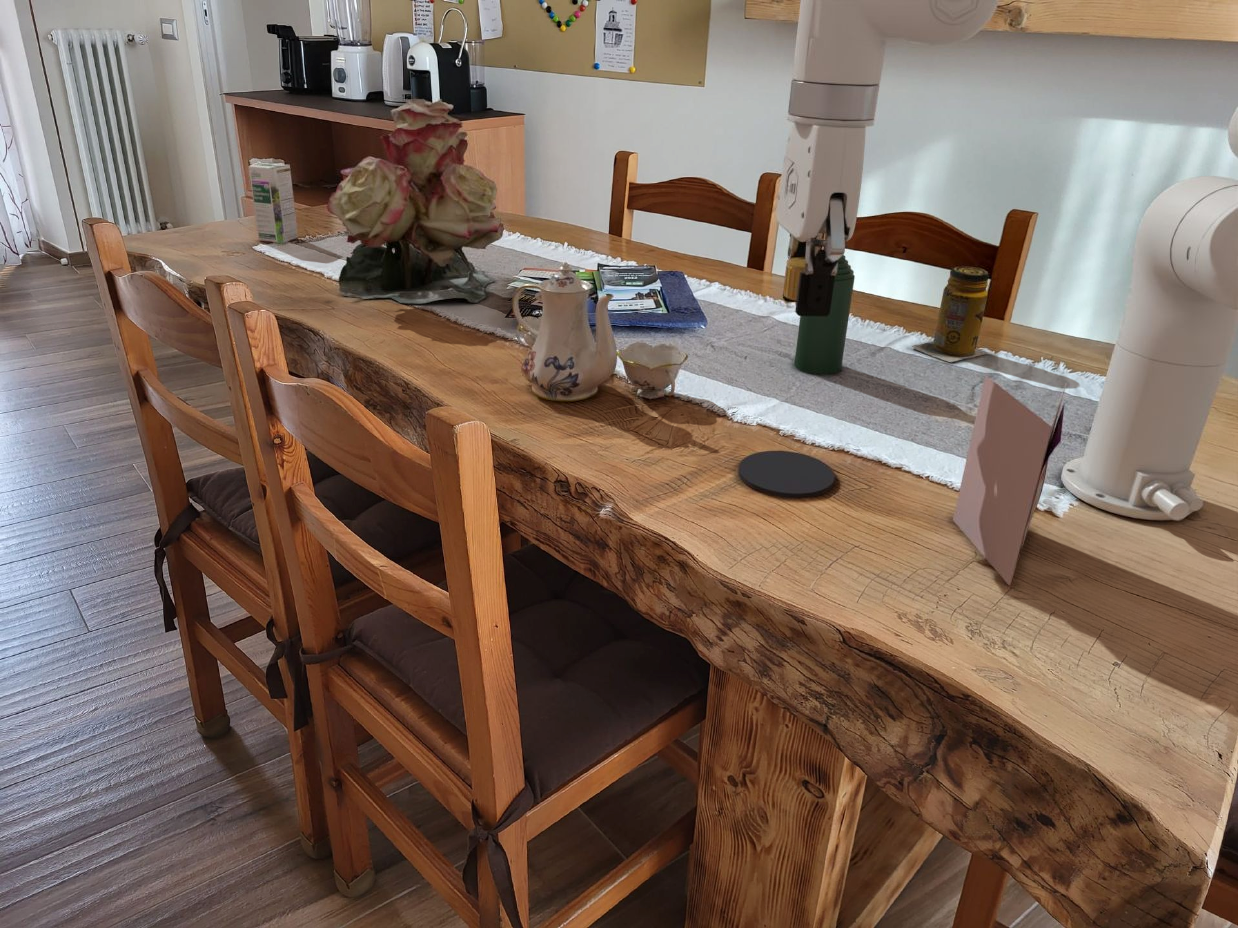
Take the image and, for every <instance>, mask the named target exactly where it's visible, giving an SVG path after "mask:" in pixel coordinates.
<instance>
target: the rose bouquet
mask: <svg viewBox="0 0 1238 928" xmlns="http://www.w3.org/2000/svg"><path fill="white" fill-rule="evenodd" d="M453 109H454V105H453V104H449V103H447V102H444V101H443V99H442V98H440V99H438V100H437V101H434V102H431V101H429V100H426V99H424V98H421V99H420V98H413V99H412V98H410V99H405V103H404V104H403V105H401V106H399V107H397V108H393V109H391V110H390V113H391V117H392V120H393V123H394V125H395V126H396V128H395V129H394V130H393V131H392V132H391V133H389V134H383V135H382V136H380V137H379V138H378V139H379V140H380V141H381V143H382V144H383V146H384V149H385V151H386V155H387V157H388V159H389V161H387V160H385V159H383V158H378V157H377V158H376V157H373V156H367V157H365V158H363V159H362V160H361V161H360V162H358V163H357V165H356V166H354V168H355V169H354V170H353V171H352V173H351V174H350V175H349V176H348V177H347V178H346V179H345V180H344V179H343V180H341V181H340V183H338V186H337V188H336V191H335V192H331V194H330V197H329V199H328V202H327V205H326V209H327V211H328V212H329V214H331V215H334V216H336V217H337V218H338V219H339V220H340V222H342V223H341V224H342V225H343V226H344V227H345V229H346V231H347V232H349V233H351V234H349V235H348V236H347V238H346V243H351V244H355V243H357V242H358V241H359V244H357V245H356V246H355V247H354V249H353V250H352V252H351V253H350V254H351V256H346V257H345V258H346V259H345V260H346V261H345V264H344V265H343V266H342V267H341V270H340V273H339V277H338V286H339V287H338V291H339V292H340V294H341V295H342V296H345V297H352V298H353V297H355V298H361V299H359V301H360V300H362V299H363V300H369V299H379V298H380V299H383V298H384V299H385V298H387V299H388V298H389V299H390V298H391V299H393V300H395V301H397V302H398V303H400V304H418V305H419V304H421V305H422V304H427V303H431V302H437V301H441V300H449V299H450V300H451V299H466V300H467V301H468V302H469V303H471V304H477V303H479V302H480V301H482V300H484V299H486V298H487V293H486V289H485V287H486V286H487V285H489V284H491V283H494V282H495V280H494V279H493V280H492V279H491V278H489V277H487V276H485V275H484V273H483V272H482V271H480V270H479V271H478V270H476V268H475V265H474V263H472V262H470V261H468V258H467V256H466V254H465V252H464V251H463V248H470V249H475V250H486V249H487V247H488V246H489V245H491V244H493V243H495V242H497V241H500V240H501V239H502V237H503V236H504V230H505V227H504V226H505V225H504V223H502V219H501V218H500V217H496V216H495V215H494V212H492V211H494V210H496V209H497V206H496V203H495V200H496V199H497V195H498V188H497V184H496V182H495V181H494V180H492V179H490V178H488V177H487V176H485V174H484V173H483V172H481V171H482V170H480V169H477V168H475V167H473V166H471V165H469V164H465V162H466V161H465V158H464V157H465V153H466V151H467V150H468V146H469V144H468V143H469V142H468V140H467V139H466V137H468V132H467V131H465V130H462V129H463V127H464V126H463V124H464V123H463V122H462V120H461V121H460V120H459V119H457V118H455V117H452V116H450V115H448V113H449V112H450V111H452V110H453ZM446 120H447V121H446ZM383 245H386V247H385V246H383ZM393 249H394V250H393Z"/></svg>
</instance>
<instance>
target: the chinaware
mask: <svg viewBox="0 0 1238 928" xmlns="http://www.w3.org/2000/svg"><path fill="white" fill-rule="evenodd" d="M558 270H559V271H558V272H555V273H553V274H552V275H551V278H550V279H545V280H544V279H543V280H542V281H540V282H538V284H537V283H531V282H529V283H525V284H523V285H520V286H518V288H516V290H515V292H514V294H513V296H512V299H511V308H512V313H513V316H514V318H515V320H516V322H517V323H518V325H517V326H516V329H515V337H516V339H517V341H518V343H519V344H521V345H522V346H524V347H526V346H527V347H528V348H529V349H530V351H529V352H528V353H527V355H526V357H525V358H524V360H523V362H522V364H521V367H520V371H521V374H522V376H523V377H524V378H525V379H526V380H527V381H528V382H529V383H530V384H531V385H532V386H531V392H532V393H533V394H534V395H535V396H537V397H538V398H540V399H543V400H547V401H553V402H559V403H560V402H562V403H568V402H569V403H570V402H571V403H572V402H579V401H585V400H588V399H590V398H592V397H594V396H595V395H596V394H597V393H598V391H599V387H598V386H599V385H601V384H602V383H603V382H604V381H606V380H607V379H609V378H610V377H611V376H612V375H613V374H614V373H615V370H616V368H617V362H618V358H619V359H620V361H621V363H622V366H623V369H624V373H625V376H626V377H627V379H628V381H629V382H630V383H631V384H632V386H634V387H635V388H637V394H636V395H637V397H642V398H644V399H649V400H652V399H657V398H663V397H665V396H667V397H671V396H672V395H674V393H675V390H676V379H677V377H678V375H679V373H680V370H681V367H682V366H683V363H685V362H686V361H688V359H689V354H687V353H686V352H681V351H680V350H679V349H678V347H677V346H676V345H673V344H671V343H660V344H657V345H654V346H653V345H651V344H649V343H646V342H634V343H631V344H629V345H628V346H627V347H626V348H625V349H619V350H618V349H617V348H618V347H617V343H616V339H615V335H614V332H613V329H612V325H611V320H610V317H609V316H610V315H609V311H608V307H609V303H610V301H612V299H613V298H614V297H615V295H614V294H613V293H604V294H603V295H602V296H600V297H599V298H598V301H597V303H596V305H595V332H596V336H595V337H596V341H595V339H594V336H593V332H592V329H591V325H590V321H589V314H588V313H589V312H588V301H589V296H590V291H591V289H592V288H593V287H592V286H593V284H592V283H590V282H589V281H587V280H584V279H580V277H579V276H578V275H577V273H575V272H572V270H573V269H572V267H570V264H569V263H568V262H567V261H564V262H563V263H562V264H561V266H560V267H559V268H558ZM527 289H537V290H540V291H539V292H536V293H535V294H534V298H535V299H536V300H537V301H542V311H541V315H540V316H538V317H535V316H531V315H529V316H523V317H522V314H521V312H520V307H519V299H520V295H521V294H522V292H523V291H525V290H527ZM519 331H520V332H522V333H523V340H522V339H521V338H520V335H519V333H520V332H519ZM668 387H670V392H669V393H668V392H667V391H666V390H665V389H667V388H668Z"/></svg>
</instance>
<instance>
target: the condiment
mask: <svg viewBox="0 0 1238 928" xmlns="http://www.w3.org/2000/svg"><path fill="white" fill-rule="evenodd" d="M989 278H990V273H989V272H988V271H987V270H986V269H983V268H979V267H973V266H962V265H961V266H955V267H952V268H951V269H950V271H949V277H948V280H947V284H946V286H945V287H944V288H943V292H942V296H941V302H940V307H939V312H938V315H937V321H936V326H935V332H934V337H933V341H932V342H923V343H920V344H914V345H911V346H910V347H911V348H913V349H915V350H916V351H919V352H921V353H923V354H925V355H929V356H931V357H932V358H937V359H940V360H942V361H945V362H949V363H953V362H958V361H963V360H964V359H965V360H966V359H972V358H975V357H980V356H982V355H983V356H984V355H986V354H988V352H987V351H985V350H981V349H977V347H978V341H979V338H980V332H981V328H982V322H983V318H984V314H985V309H986V305H987V300H988V293H989V292H988V291H987V287H988V281H989Z"/></svg>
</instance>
